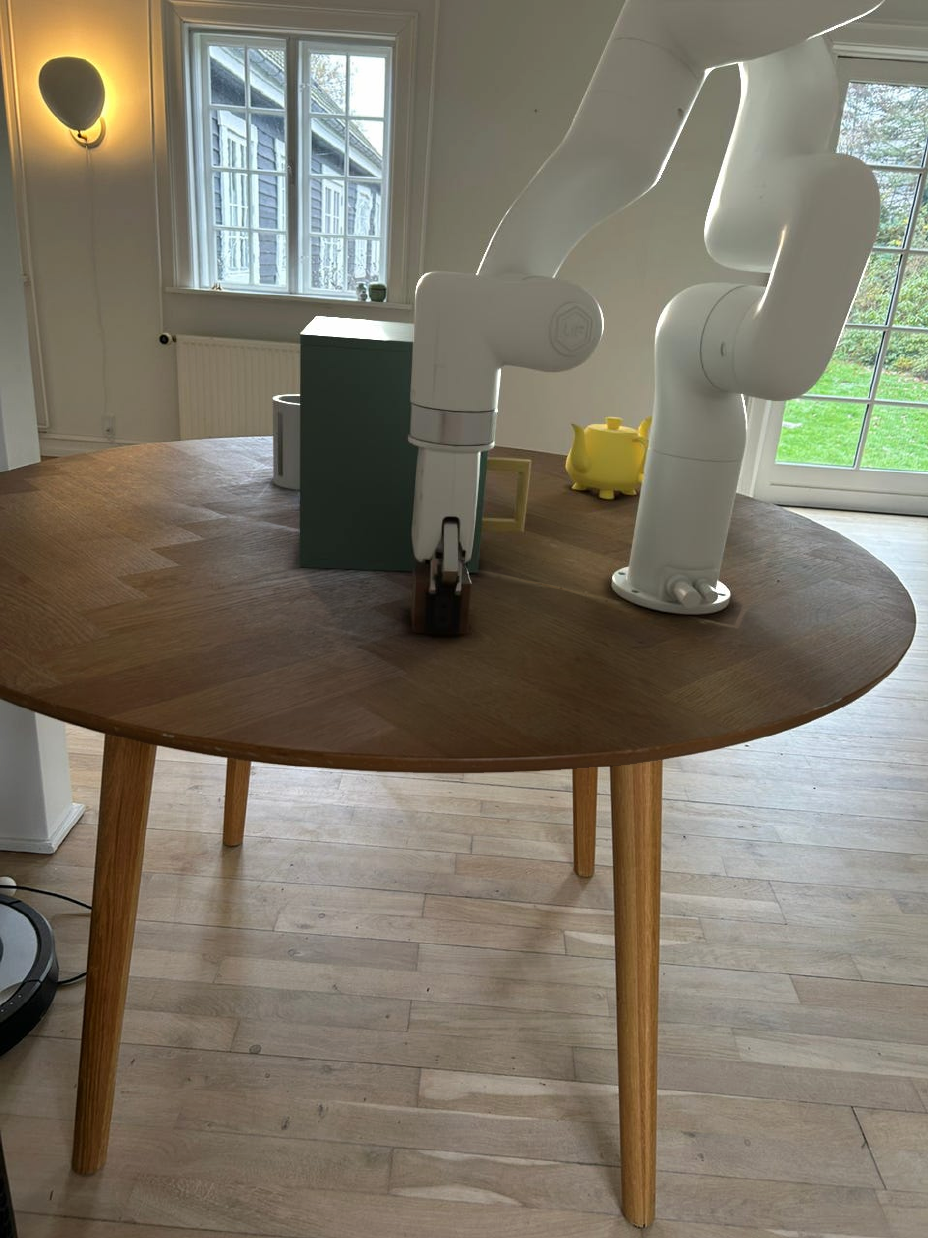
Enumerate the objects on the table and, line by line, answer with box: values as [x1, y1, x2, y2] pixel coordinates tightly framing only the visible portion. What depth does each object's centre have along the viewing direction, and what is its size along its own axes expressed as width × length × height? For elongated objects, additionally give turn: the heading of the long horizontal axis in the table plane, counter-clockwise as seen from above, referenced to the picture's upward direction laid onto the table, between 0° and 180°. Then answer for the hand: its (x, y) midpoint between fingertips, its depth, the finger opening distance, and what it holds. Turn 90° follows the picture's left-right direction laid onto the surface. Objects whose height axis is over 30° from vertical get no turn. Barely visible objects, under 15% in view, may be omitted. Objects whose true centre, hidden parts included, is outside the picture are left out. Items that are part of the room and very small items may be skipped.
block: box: [410, 563, 472, 635], centre depth 80 cm, size 5×5×5 cm
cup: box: [272, 393, 300, 491], centre depth 123 cm, size 9×9×12 cm
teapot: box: [565, 416, 653, 500], centre depth 132 cm, size 20×15×12 cm
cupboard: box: [299, 316, 466, 573], centre depth 100 cm, size 18×26×24 cm
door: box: [466, 450, 532, 574], centre depth 102 cm, size 6×26×24 cm, turn 6°
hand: (438, 617), depth 80 cm, fingers open, 5 cm apart
